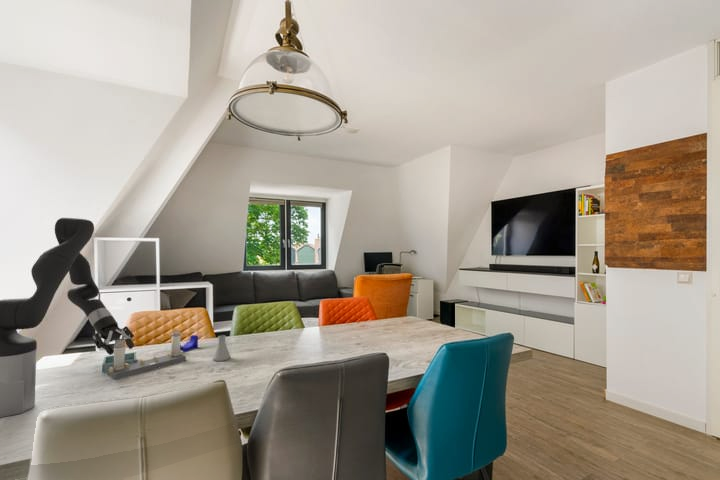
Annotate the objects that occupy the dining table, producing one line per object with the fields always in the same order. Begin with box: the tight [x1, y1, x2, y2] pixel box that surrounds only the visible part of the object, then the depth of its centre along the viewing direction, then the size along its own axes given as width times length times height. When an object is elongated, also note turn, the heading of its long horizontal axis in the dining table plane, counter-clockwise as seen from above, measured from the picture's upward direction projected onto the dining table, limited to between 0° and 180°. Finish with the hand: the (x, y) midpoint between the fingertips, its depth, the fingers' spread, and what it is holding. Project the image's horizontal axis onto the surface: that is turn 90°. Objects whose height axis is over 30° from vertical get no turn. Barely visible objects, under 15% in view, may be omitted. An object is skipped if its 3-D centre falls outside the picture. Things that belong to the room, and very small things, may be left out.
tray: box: [101, 351, 137, 373], centre depth 139 cm, size 12×11×3 cm
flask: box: [212, 334, 232, 362], centre depth 147 cm, size 7×7×10 cm
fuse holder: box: [106, 350, 187, 380], centre depth 136 cm, size 27×8×4 cm, turn 144°
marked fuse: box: [114, 338, 126, 344], centre depth 139 cm, size 4×4×10 cm
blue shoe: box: [180, 334, 199, 353], centre depth 160 cm, size 12×4×6 cm, turn 160°
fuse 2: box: [170, 331, 182, 357], centre depth 145 cm, size 4×4×10 cm
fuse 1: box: [113, 342, 126, 371], centre depth 128 cm, size 4×4×10 cm
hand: (122, 350), depth 139 cm, fingers open, 8 cm apart
